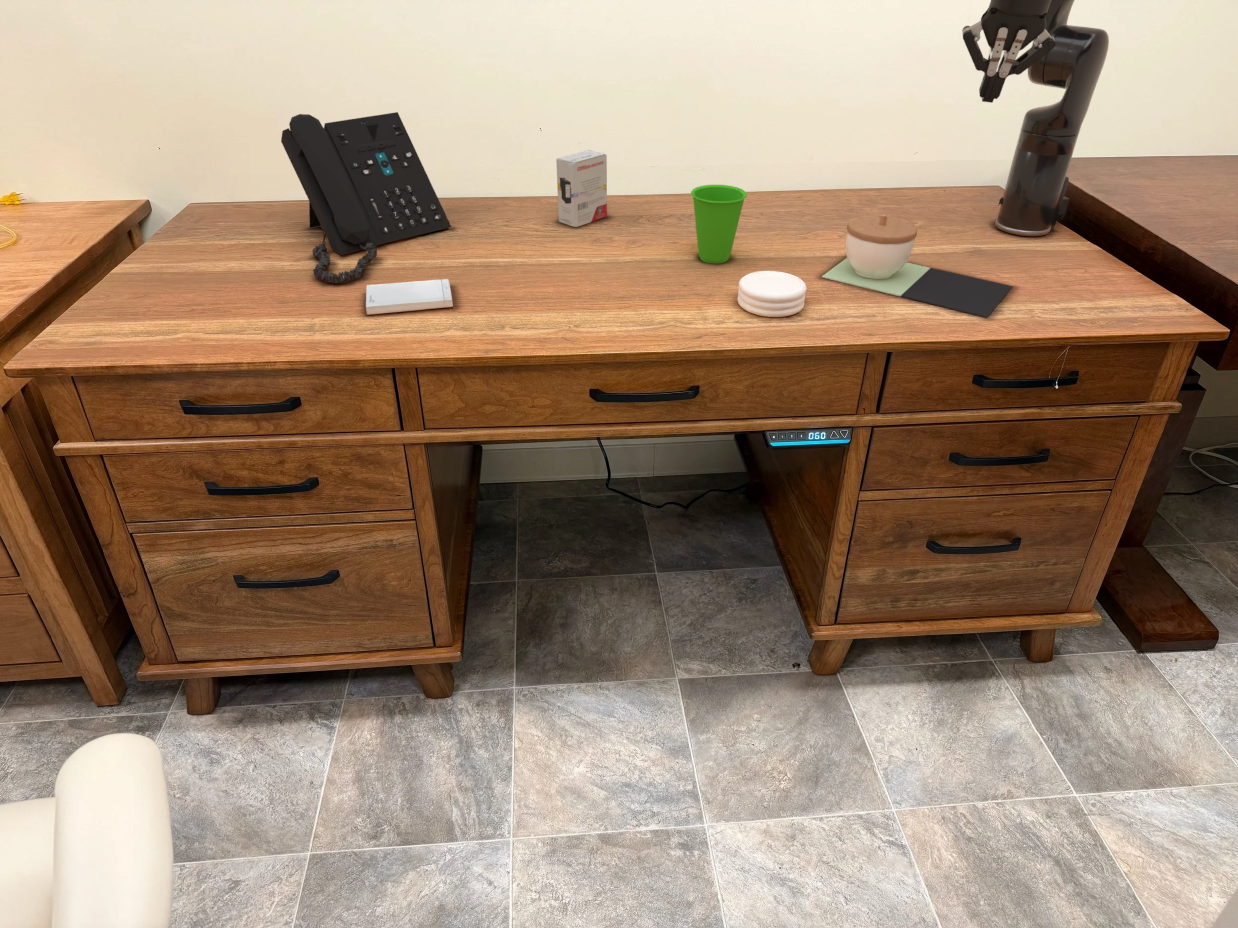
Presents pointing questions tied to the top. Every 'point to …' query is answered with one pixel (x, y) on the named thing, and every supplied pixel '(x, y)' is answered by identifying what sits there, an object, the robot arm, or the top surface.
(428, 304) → the hard drive
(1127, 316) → the top surface
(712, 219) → the cup
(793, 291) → the white round stack
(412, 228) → the office phone
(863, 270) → the trinket box
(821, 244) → the top surface
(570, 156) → the ink box
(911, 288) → the runner mat
